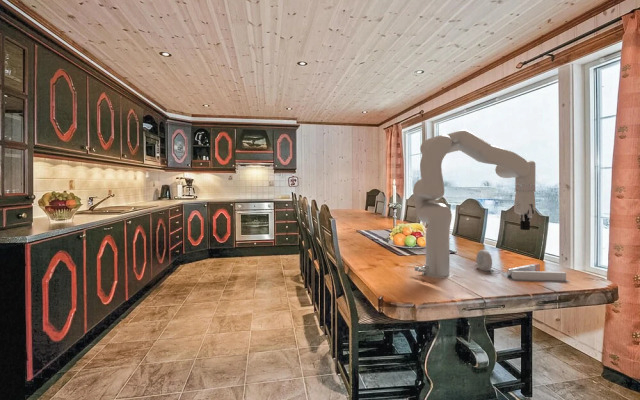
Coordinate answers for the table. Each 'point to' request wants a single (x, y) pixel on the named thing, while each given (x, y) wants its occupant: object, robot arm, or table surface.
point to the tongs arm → (524, 269)
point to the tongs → (537, 276)
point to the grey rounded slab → (484, 260)
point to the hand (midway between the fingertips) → (525, 229)
